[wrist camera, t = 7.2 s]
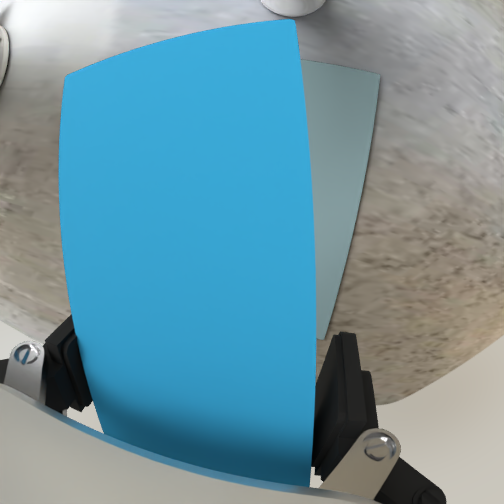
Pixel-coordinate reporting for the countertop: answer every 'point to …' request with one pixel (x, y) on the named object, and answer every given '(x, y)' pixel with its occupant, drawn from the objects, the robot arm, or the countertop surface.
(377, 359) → the countertop surface
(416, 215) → the countertop surface
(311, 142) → the mat
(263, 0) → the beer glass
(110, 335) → the lever
